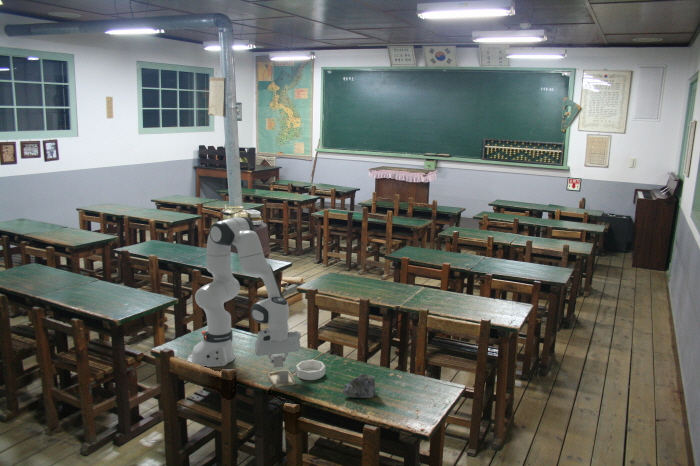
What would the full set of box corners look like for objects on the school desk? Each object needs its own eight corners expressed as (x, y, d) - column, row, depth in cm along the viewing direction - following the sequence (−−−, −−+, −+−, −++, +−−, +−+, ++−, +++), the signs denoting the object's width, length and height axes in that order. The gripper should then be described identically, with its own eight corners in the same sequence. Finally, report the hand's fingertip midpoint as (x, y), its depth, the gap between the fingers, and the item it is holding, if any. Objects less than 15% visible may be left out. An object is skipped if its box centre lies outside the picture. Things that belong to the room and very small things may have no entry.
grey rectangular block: (279, 385, 240) (279, 375, 239) (277, 381, 244) (277, 371, 243) (288, 383, 241) (288, 374, 240) (286, 379, 245) (286, 370, 244)
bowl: (301, 383, 243) (301, 373, 243) (293, 371, 255) (293, 362, 254) (327, 378, 248) (327, 369, 247) (319, 367, 259) (319, 358, 258)
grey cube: (274, 367, 245) (274, 358, 244) (272, 363, 248) (272, 354, 247) (282, 366, 246) (283, 357, 245) (280, 362, 250) (281, 353, 249)
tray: (273, 388, 238) (273, 385, 237) (267, 376, 249) (266, 372, 249) (296, 385, 241) (296, 381, 241) (288, 372, 253) (288, 369, 253)
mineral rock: (341, 397, 231) (341, 375, 229) (350, 386, 241) (351, 365, 239) (369, 404, 226) (370, 381, 224) (378, 392, 236) (379, 371, 234)
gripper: (298, 328, 251) (297, 356, 254) (254, 332, 243) (253, 361, 246) (302, 333, 245) (301, 362, 248) (257, 338, 237) (256, 367, 240)
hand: (277, 361), depth 247 cm, fingers closed on grey cube, 4 cm apart
